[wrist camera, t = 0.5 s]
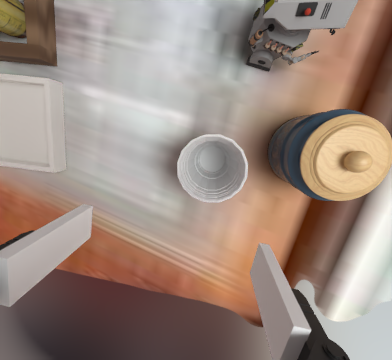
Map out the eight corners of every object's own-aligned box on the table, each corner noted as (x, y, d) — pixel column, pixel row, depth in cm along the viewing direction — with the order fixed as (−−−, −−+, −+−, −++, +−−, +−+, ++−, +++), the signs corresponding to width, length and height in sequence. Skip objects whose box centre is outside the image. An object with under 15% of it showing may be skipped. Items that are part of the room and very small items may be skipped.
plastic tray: (-12, 75, 41) (-32, 70, 38) (62, 83, 40) (48, 78, 37) (-1, 161, 45) (-18, 163, 42) (66, 169, 44) (54, 172, 41)
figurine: (297, 81, 37) (353, 46, 22) (238, 62, 37) (255, 16, 22) (319, 26, 35) (396, -52, 20) (256, 7, 35) (287, -85, 20)
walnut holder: (-19, -24, 37) (-46, -42, 33) (52, -18, 36) (33, -37, 32) (-9, 59, 40) (-33, 52, 36) (57, 66, 40) (40, 58, 36)
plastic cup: (182, 179, 43) (170, 196, 31) (191, 128, 40) (182, 126, 29) (231, 190, 42) (238, 211, 31) (244, 139, 40) (257, 141, 28)
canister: (252, 150, 40) (282, 163, 23) (304, 101, 37) (382, 74, 20) (294, 194, 42) (352, 237, 24) (348, 150, 39) (456, 163, 22)
